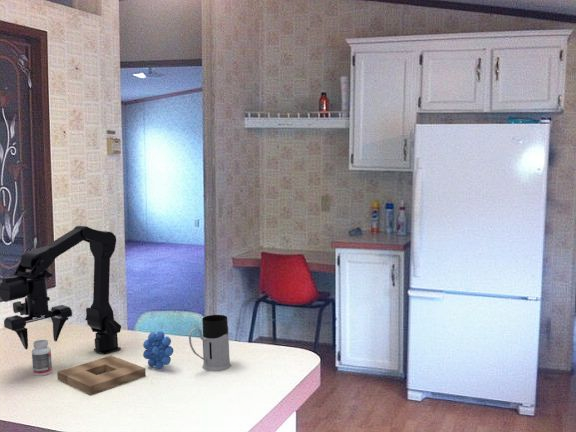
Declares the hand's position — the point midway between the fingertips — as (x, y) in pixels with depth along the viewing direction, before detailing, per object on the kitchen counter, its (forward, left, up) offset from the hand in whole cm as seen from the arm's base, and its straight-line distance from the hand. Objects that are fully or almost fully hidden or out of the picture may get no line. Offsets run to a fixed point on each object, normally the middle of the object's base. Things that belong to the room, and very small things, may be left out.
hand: (41, 345), depth 197 cm
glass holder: (-34, +37, -9) cm, 51 cm away
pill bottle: (0, 0, -9) cm, 9 cm away
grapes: (-25, +25, -9) cm, 36 cm away
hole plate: (-9, +18, -9) cm, 22 cm away
